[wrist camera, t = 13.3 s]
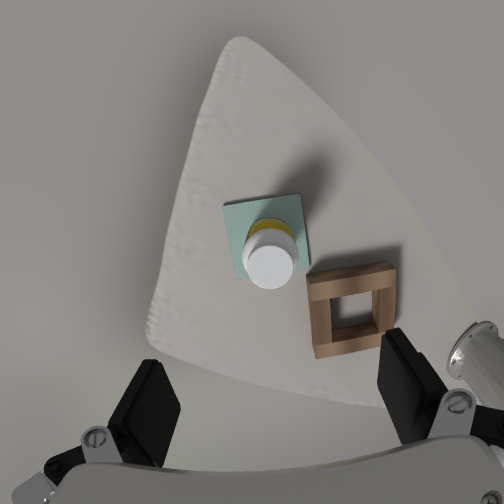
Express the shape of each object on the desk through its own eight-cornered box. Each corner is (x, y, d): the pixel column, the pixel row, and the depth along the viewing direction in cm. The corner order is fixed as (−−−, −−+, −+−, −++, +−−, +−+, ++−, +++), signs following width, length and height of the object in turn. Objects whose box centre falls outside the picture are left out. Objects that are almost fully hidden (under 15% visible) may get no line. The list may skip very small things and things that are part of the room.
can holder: (387, 261, 34) (396, 268, 31) (385, 331, 37) (392, 343, 34) (305, 274, 35) (309, 284, 32) (312, 346, 38) (315, 359, 35)
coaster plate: (299, 193, 32) (300, 194, 32) (309, 266, 35) (309, 268, 34) (222, 205, 33) (222, 206, 33) (236, 277, 36) (236, 279, 35)
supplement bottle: (243, 219, 33) (234, 240, 24) (290, 213, 32) (299, 232, 23) (250, 263, 34) (244, 299, 25) (295, 258, 34) (305, 292, 25)
